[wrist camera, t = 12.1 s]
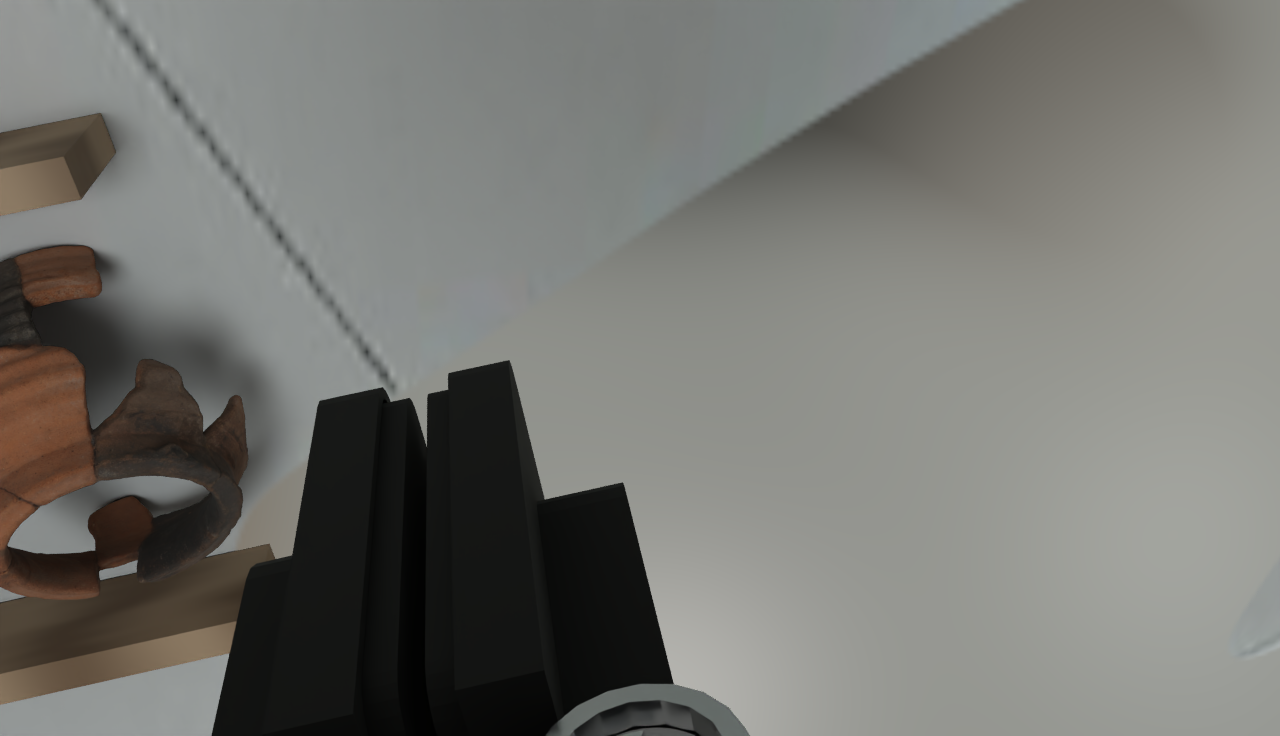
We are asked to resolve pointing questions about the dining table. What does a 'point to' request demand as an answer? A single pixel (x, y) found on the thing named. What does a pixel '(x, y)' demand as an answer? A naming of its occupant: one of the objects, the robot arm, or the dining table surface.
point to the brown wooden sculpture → (101, 445)
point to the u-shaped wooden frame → (125, 609)
